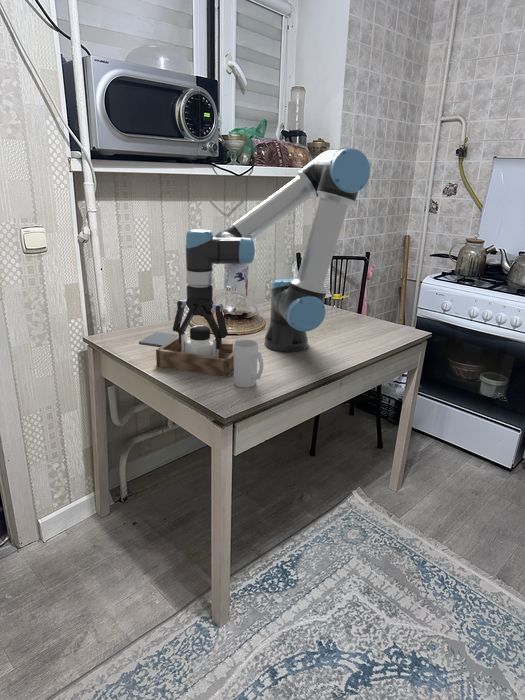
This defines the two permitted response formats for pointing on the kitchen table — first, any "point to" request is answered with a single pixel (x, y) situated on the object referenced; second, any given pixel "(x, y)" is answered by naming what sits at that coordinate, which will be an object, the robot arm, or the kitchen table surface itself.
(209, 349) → the medicine bottle
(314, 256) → the robot arm
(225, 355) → the offcut lower
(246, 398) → the kitchen table surface
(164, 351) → the tray
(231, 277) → the juice carton
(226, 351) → the offcut upper
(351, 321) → the kitchen table surface
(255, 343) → the mug
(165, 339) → the mat
